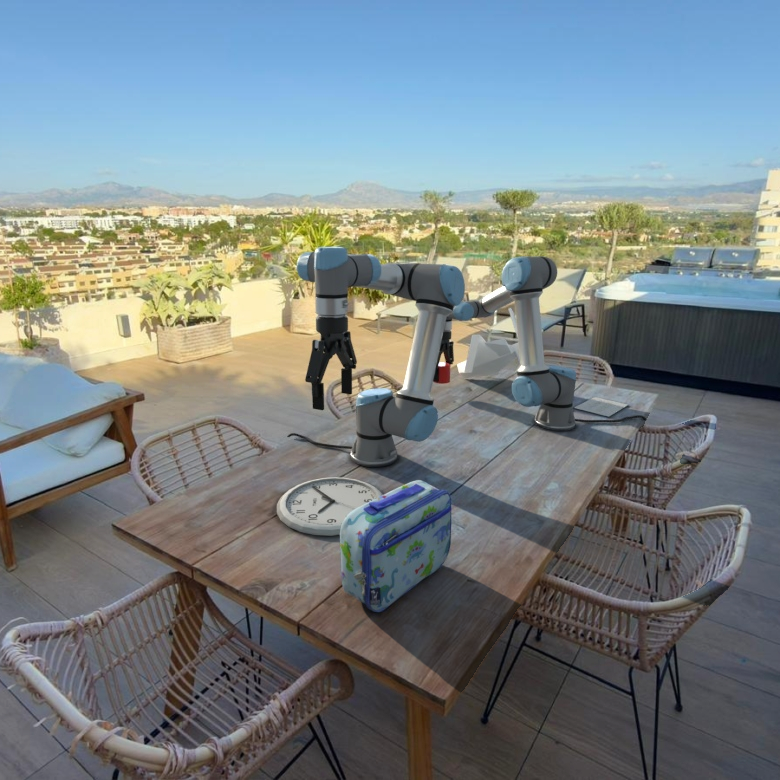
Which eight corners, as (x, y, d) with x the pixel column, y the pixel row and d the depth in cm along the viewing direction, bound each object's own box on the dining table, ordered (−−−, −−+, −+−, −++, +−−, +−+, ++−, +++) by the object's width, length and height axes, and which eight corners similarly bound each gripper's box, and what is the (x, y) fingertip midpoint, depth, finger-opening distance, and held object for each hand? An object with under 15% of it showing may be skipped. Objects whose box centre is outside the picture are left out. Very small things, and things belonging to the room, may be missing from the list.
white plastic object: (478, 420, 264) (457, 397, 239) (460, 347, 286) (438, 319, 261) (549, 396, 251) (535, 369, 227) (524, 322, 273) (509, 290, 249)
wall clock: (392, 527, 129) (268, 531, 127) (391, 533, 130) (269, 537, 127) (383, 473, 158) (282, 475, 155) (383, 478, 158) (282, 480, 156)
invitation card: (608, 416, 214) (573, 407, 224) (608, 416, 214) (573, 408, 224) (628, 404, 229) (594, 396, 238) (628, 405, 229) (594, 397, 238)
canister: (429, 380, 241) (430, 363, 239) (444, 378, 244) (445, 361, 241) (437, 384, 234) (438, 366, 232) (453, 382, 237) (453, 365, 235)
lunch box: (369, 626, 100) (370, 530, 93) (334, 598, 107) (332, 507, 101) (455, 567, 117) (460, 483, 111) (419, 547, 124) (423, 467, 118)
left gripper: (316, 324, 110) (319, 419, 116) (370, 309, 132) (369, 389, 138) (287, 321, 113) (291, 413, 119) (344, 307, 135) (344, 385, 141)
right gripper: (449, 326, 242) (448, 374, 248) (421, 332, 227) (420, 382, 234) (463, 328, 237) (461, 376, 244) (435, 334, 222) (434, 385, 229)
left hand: (333, 401), depth 129 cm, fingers open, 13 cm apart
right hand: (441, 379), depth 239 cm, fingers closed on canister, 8 cm apart
